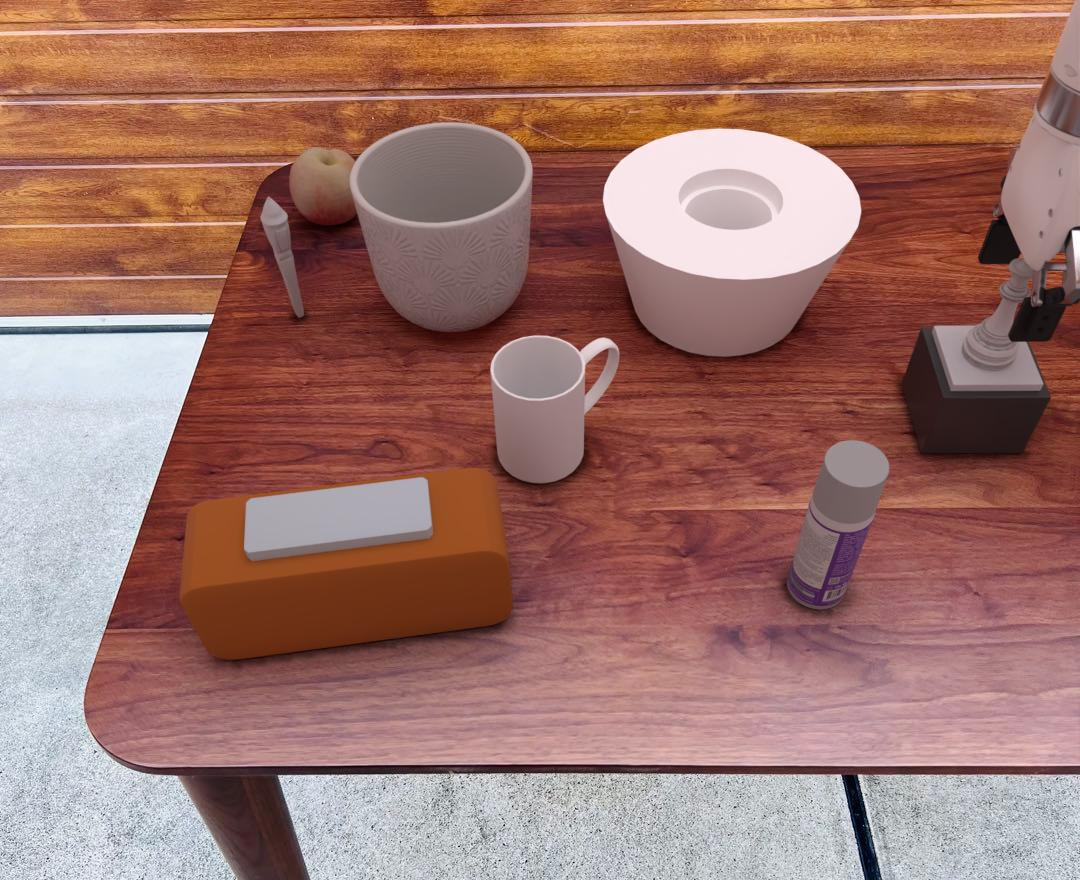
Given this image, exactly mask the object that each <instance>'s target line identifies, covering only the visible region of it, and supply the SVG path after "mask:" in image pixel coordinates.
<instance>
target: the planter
mask: <svg viewBox="0 0 1080 880" xmlns="http://www.w3.org/2000/svg"><path fill="white" fill-rule="evenodd" d="M533 174H534V169H533V164H532V161H531V158H530V156H529V153H528V152H527V151H526V150H525V148H524V147H523V146H522V145H521V144H520V143H519V142H518V141H517V140H516V139H514V138H513V137H511V136H509V135H508V134H505V133H503V132H502V131H498V130H497V129H495V128H494V129H493V128H492V127H488V126H484V125H481V124H480V125H479V124H474V123H467V122H455V121H451V122H448V121H447V122H445V121H443V122H433V123H425V124H419V125H414V126H411V127H405V128H403V129H401V130H397V131H395V132H392V133H389V134H388V135H386V136H384V137H381V138H380V139H378V140H377V141H375V142H374V143H372V144H371V145H370V146H368V147H367V148H366V149H365V150H364V151H362V153H361V154H360V155H359V156H358V157H357V159H356V160H355V163H354V165H353V168H352V170H351V174H350V189H351V193H352V197H353V200H354V204H355V207H356V211H357V213H356V215H357V218H358V221H359V225H360V228H361V232H362V235H363V239H364V242H365V247H366V250H367V253H368V257H369V261H370V264H371V267H372V270H373V274H374V277H375V280H376V283H377V285H378V287H379V289H380V291H381V293H382V294H383V297H384V298H385V299H386V300H387V302H388V304H389V305H390V306H391V308H393V309H394V310H395V311H396V313H397V314H399V315H400V316H401V317H402V318H404V319H405V320H407V321H409V322H410V323H412V324H414V325H416V326H418V327H421V328H424V329H426V330H430V331H434V332H440V333H461V332H467V331H472V330H475V329H478V328H481V327H484V326H486V325H488V324H490V323H492V322H493V321H496V319H498V318H499V317H501V316H502V315H503V314H504V313H505V312H507V310H508V309H509V308H511V306H512V305H513V304H514V303H515V301H516V300H517V298H518V296H519V294H520V292H521V291H522V288H523V286H524V283H525V281H526V278H527V274H528V268H529V259H530V242H531V241H530V240H531V221H532V220H531V219H532V218H531V217H532V198H533V197H532V196H533V177H534V176H533Z"/></svg>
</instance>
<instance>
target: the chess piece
mask: <svg viewBox="0 0 1080 880" xmlns="http://www.w3.org/2000/svg"><path fill="white" fill-rule="evenodd" d="M1008 270H1009V272H1010V276H1011V277H1010V278H1009V279H1008V280H1007V281H1004V282H1002V283H1001V284H1000V286H999V287H998V293H999V294H998V295H999V296H1000V297H1001V298H1002V299H1001V300H1000V302H999V305H998V307H997V308H996V310H995V311H994V312H993V314H992V315H991V316H988V317H986V318H984V319H983V320H982V321H981V323H978V324H976V325H974V326H975V327H973V328H971V329H970V331H969V332H968V334H967V337H966V338H965V340H964V342H963V345H962V353H963V355H964V357H965V358H966V359H967V360H968V361H969V362H970V363H972V364H973V365H975V366H978V367H980V368H983V369H988V370H999V369H1003V368H1006V367H1008V366H1010V365H1011V364H1012V362H1013V361H1014V359H1015V357H1016V354H1017V351H1018V349H1019V342H1011V341H1010V339H1009V337H1008V333H1009V331H1010V329H1011V327H1012V324H1013V322H1014V320H1015V316H1016V311H1017V308H1018V305H1019V304H1022V302H1023V300H1024V298H1025V297H1031V289H1030V287H1029V284H1028V283H1029V282H1030V281H1032V279H1033V269H1032V268H1031V267H1030V266H1029V265H1028V264H1027V263H1026V261H1025V259H1024V257H1019V258H1017V259H1014V260H1012V261H1011V263H1010V264H1008Z"/></svg>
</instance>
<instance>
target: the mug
mask: <svg viewBox="0 0 1080 880" xmlns="http://www.w3.org/2000/svg"><path fill="white" fill-rule="evenodd" d="M607 349H608V355H607V360H606V362H605V365H604V367H603V370H602V372H601V373H600V376H599V377H598V379H597V380H596V381H595V383H594V384H593V386H592V387H591V388H590V389H589V390H588V392H587V393H586V365H587V364H588V363H589V362H590V361H591V360H592V359H594V357H596V356H597V355H598V354H600V353H601V352H603V351H605V350H607ZM620 357H621V356H620V350H619V346H617V344H616V343H615V342H614V340H611V338H607V337H599V338H597V339H594V340H592V341H591V342H590V343H588V344H587V345H586V346H584V347H583V348H582V349H581V350H580V351H579V349H578V348H577V347H576V346H574V345H573V344H571V343H570V342H568V341H566V340H564V339H561V338H559V337H555V336H549V335H530V336H529V335H528V336H523V337H520V338H517V339H513V340H511V341H509V342H507V343H506V344H505V345H503V346H502V347H501V348H500V349H499V350H498V351H497V352H496V353H495V355H494V356H493V359H492V360H491V362H490V370H489V371H490V383H491V393H492V394H491V395H492V404H493V405H492V407H493V419H494V428H495V429H494V430H495V431H494V432H495V442H496V443H495V444H496V451H497V452H496V453H497V457H498V461H499V463H500V464H501V466H502V467H503V469H504V470H505V471H506V472H507V473H508V474H509V475H511V476H512V477H514V478H516V479H517V480H520V481H522V482H527V483H531V484H548V483H553V482H557V481H560V480H562V479H565V478H566V477H568V476H570V475H571V474H573V473H574V471H575V470H576V469H577V468H578V466H580V465H581V462H582V460H583V457H584V454H585V453H584V452H585V451H584V450H585V415H586V414H587V413H588V412H589V411H590V410H591V409H592V408H593V407H594V406H595V405H596V403H597V402H598V401H599V400H600V399H601V397H602V396H603V395H604V393H606V391H607V389H608V388H609V387H610V385H611V383H612V382H613V380H614V378H615V376H616V373H617V370H618V367H619V364H620Z"/></svg>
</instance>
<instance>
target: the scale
mask: <svg viewBox="0 0 1080 880" xmlns="http://www.w3.org/2000/svg"><path fill="white" fill-rule="evenodd" d="M975 326H976V325H933V326H931V327H930V326H927V327H925V326H923V327H921V328H920V331H919V334H918V336H917V339H916V341H915V344H914V348H913V350H912V353H911V355H910V358H909V360H908V364H907V367H906V370H905V373H904V375H903V378H902V381H901V387H902V391H903V394H904V398H905V401H906V406H907V408H908V412H909V416H910V420H911V422H912V426H913V430H914V434H915V436H916V441H917V444H918V447H919V450H920V451H919V452H920V454H1022V453H1024V450H1025V449H1026V447H1027V444H1028V443H1029V441H1030V439H1031V438H1032V436H1033V433H1034V431H1035V430H1036V427H1037V426H1038V424H1039V422H1040V420H1041V418H1042V417H1043V415H1044V413H1045V411H1046V409H1047V407H1048V405H1049V403H1050V401H1051V399H1052V395H1051V393H1050V390H1049V388H1048V386H1047V383H1046V381H1045V378H1044V376H1043V373H1042V371H1041V368H1040V366H1039V363H1038V361H1037V359H1036V357H1035V356H1036V355H1035V354H1034V352H1033V349H1032V346H1031V344H1030V342H1019V349H1018V351H1017V354H1016V357H1015V359H1014V361H1013V362H1012V364H1011V365H1010V366H1008V367H1006V368H1003V369H999V370H988V369H983V368H980V367H978V366H975V365H973V364H972V363H970V362H969V361H968V360H967V359H966V358H965V357H964V355H963V353H962V345H963V342H964V340H965V338H966V337H967V334H968V332H969V331H970V329H971V328H973V327H975Z"/></svg>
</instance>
